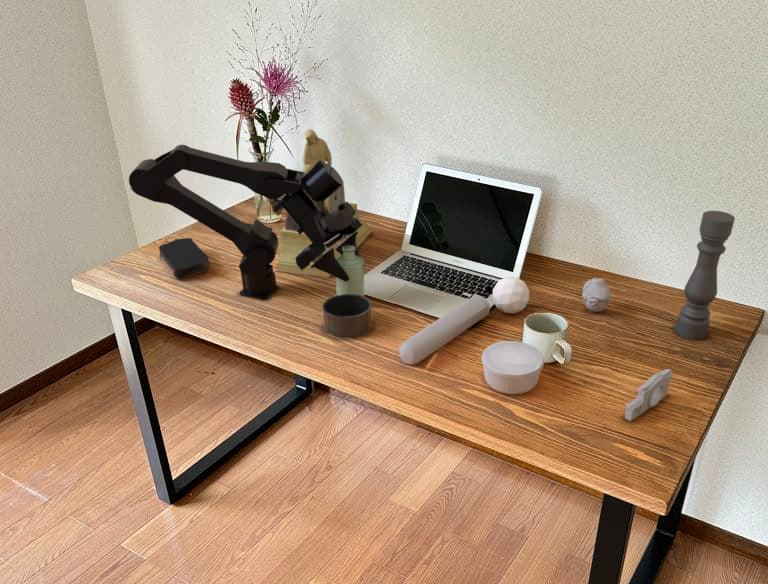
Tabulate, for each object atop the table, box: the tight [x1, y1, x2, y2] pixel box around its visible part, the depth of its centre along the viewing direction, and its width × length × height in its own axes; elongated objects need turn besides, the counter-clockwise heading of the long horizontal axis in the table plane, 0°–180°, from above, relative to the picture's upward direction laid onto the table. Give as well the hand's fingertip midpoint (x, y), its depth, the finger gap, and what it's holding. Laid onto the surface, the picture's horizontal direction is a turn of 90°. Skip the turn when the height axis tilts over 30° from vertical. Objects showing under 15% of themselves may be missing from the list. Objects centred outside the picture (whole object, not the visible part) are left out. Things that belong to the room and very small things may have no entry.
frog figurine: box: [581, 277, 612, 313], centre depth 155 cm, size 6×7×7 cm
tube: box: [397, 293, 491, 366], centre depth 144 cm, size 5×5×25 cm
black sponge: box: [158, 237, 211, 280], centre depth 171 cm, size 16×8×4 cm, turn 33°
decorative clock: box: [276, 128, 372, 278], centre depth 172 cm, size 28×13×30 cm, turn 164°
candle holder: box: [674, 210, 736, 340], centre depth 143 cm, size 6×6×25 cm
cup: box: [321, 294, 373, 339], centre depth 148 cm, size 10×10×5 cm
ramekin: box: [481, 340, 545, 395], centre depth 132 cm, size 11×11×5 cm
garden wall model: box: [624, 368, 674, 422], centre depth 125 cm, size 12×2×6 cm, turn 133°
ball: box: [492, 276, 530, 314], centre depth 154 cm, size 8×8×8 cm
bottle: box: [335, 245, 366, 298], centre depth 154 cm, size 6×6×12 cm
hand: (355, 274), depth 154 cm, fingers closed on bottle, 6 cm apart
